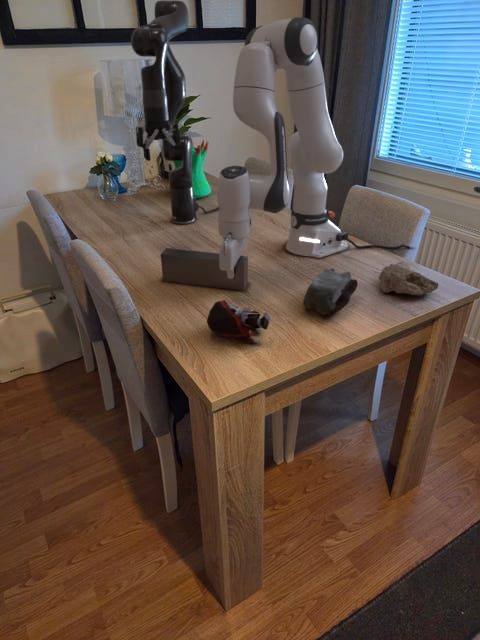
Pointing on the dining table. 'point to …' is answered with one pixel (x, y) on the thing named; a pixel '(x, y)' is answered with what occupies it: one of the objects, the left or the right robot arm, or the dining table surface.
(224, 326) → the toy
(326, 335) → the dining table surface
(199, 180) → the toy
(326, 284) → the dark grey rock
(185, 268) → the bar
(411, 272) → the artifact
